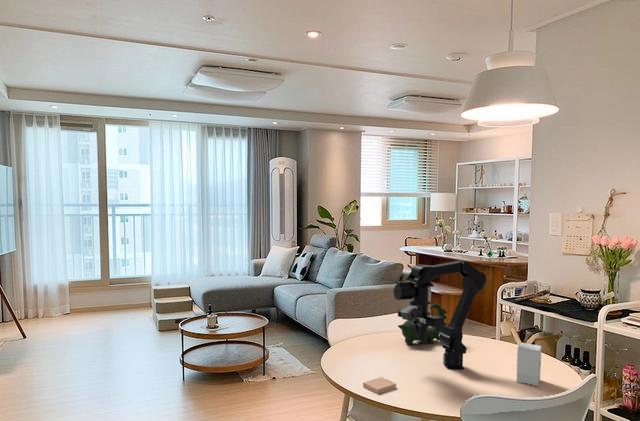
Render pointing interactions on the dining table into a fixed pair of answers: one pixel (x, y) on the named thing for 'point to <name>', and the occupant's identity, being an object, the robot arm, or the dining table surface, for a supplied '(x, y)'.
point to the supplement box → (528, 363)
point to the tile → (379, 385)
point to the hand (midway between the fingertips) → (419, 339)
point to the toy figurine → (429, 334)
